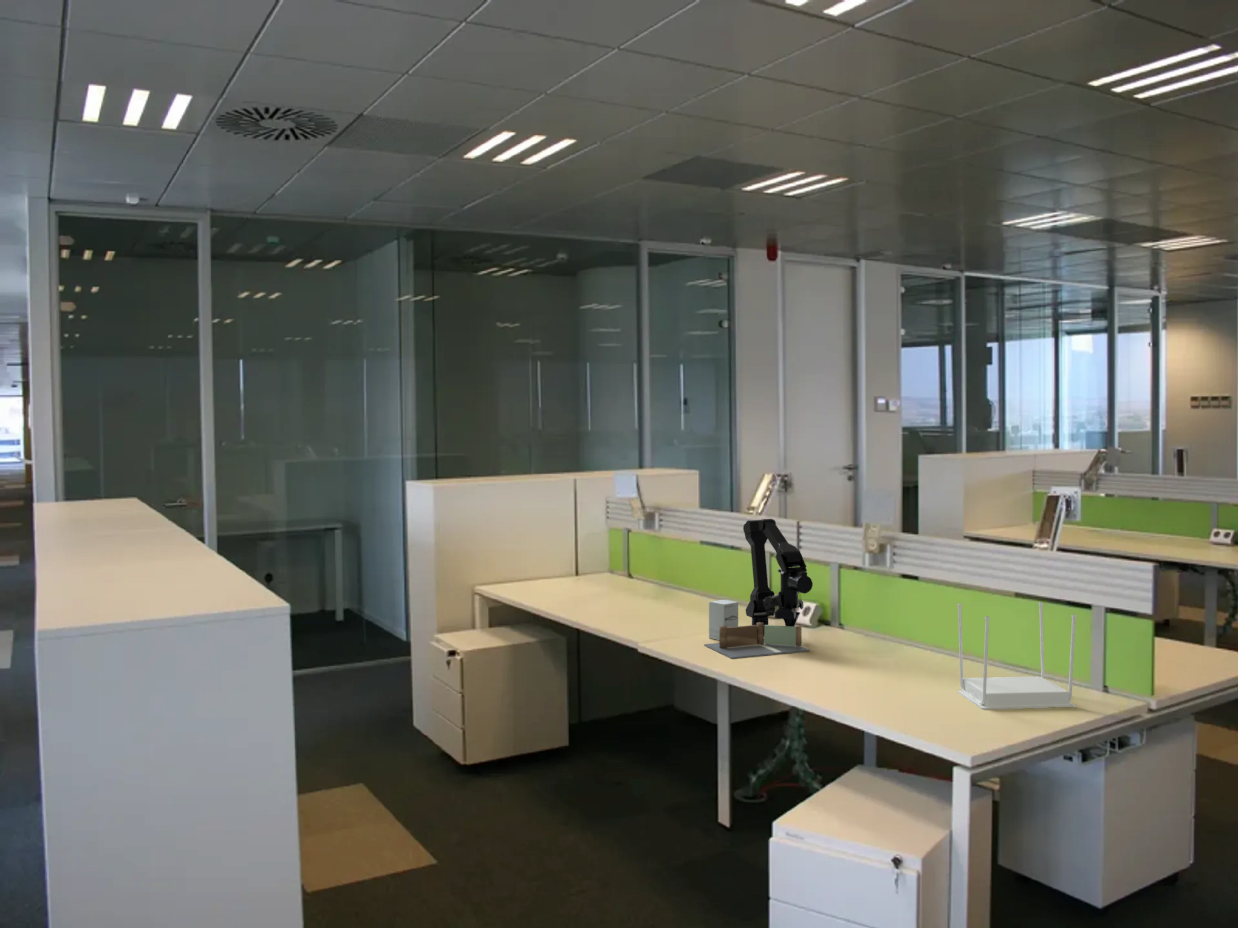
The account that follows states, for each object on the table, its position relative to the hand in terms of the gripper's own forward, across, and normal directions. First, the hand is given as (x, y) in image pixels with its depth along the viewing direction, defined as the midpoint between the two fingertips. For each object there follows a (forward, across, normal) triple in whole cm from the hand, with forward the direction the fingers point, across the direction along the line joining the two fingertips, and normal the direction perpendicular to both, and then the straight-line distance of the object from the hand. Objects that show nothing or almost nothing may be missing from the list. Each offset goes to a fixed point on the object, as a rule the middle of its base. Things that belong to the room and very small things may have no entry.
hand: (789, 634), depth 338 cm
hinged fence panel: (+3, +3, -2) cm, 4 cm away
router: (+2, +45, +68) cm, 82 cm away
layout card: (+3, +7, -10) cm, 13 cm away
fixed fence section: (+3, +7, -14) cm, 16 cm away
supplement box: (+4, -4, -23) cm, 24 cm away
